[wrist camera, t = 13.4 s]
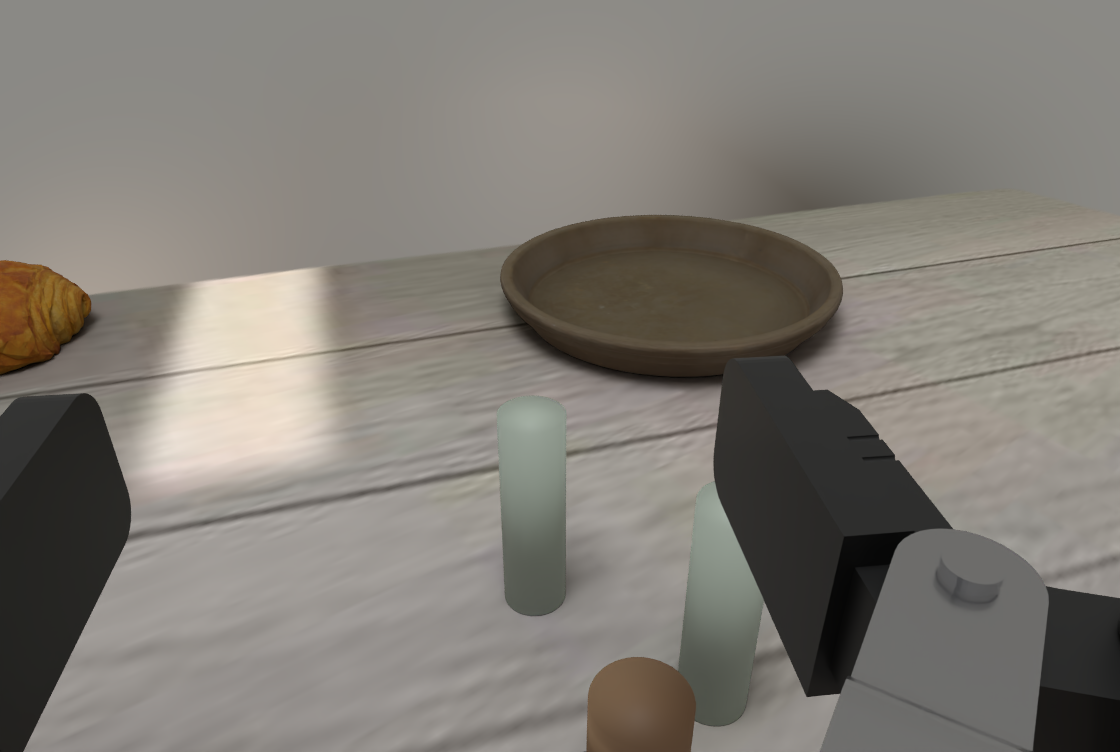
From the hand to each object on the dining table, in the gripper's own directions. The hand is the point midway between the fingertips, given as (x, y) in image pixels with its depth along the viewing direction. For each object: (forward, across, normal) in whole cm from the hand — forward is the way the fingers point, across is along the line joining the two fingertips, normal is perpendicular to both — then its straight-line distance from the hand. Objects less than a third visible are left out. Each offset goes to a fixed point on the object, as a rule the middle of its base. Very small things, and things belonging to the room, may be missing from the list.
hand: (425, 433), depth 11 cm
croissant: (+59, +41, +29) cm, 78 cm away
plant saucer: (+60, -19, +28) cm, 69 cm away
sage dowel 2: (+17, -11, +28) cm, 34 cm away
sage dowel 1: (+25, -3, +28) cm, 37 cm away
